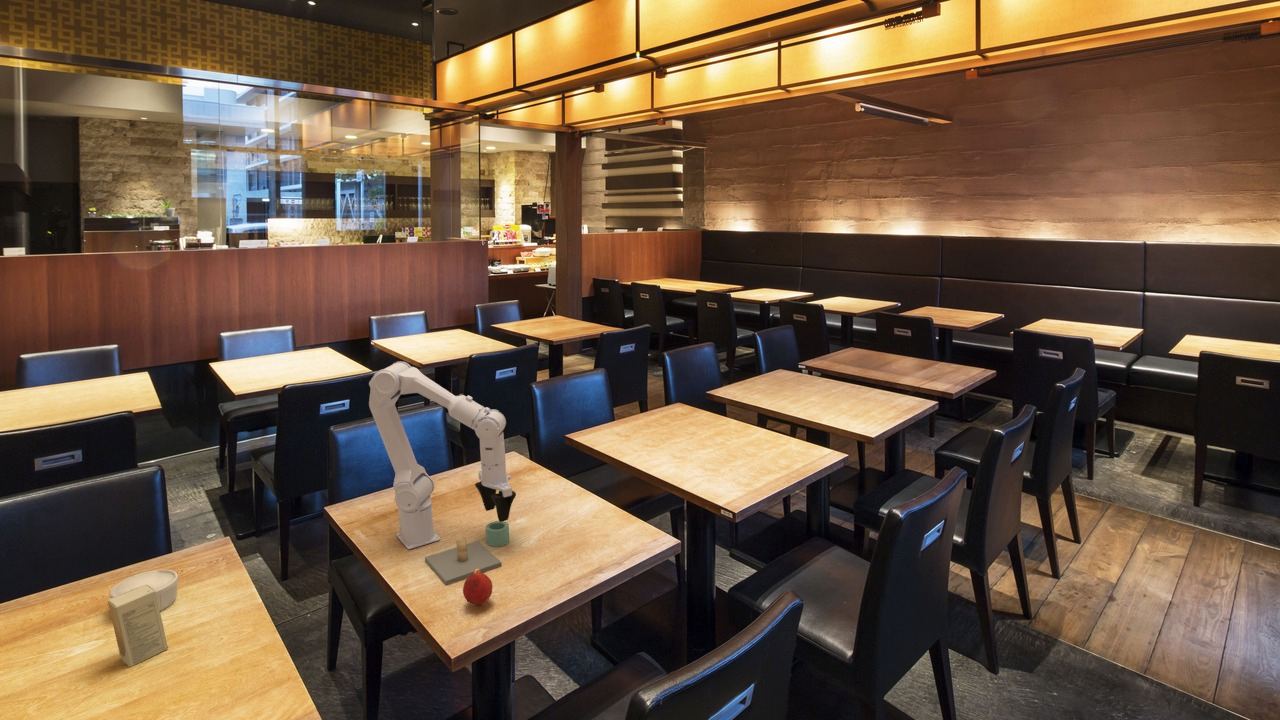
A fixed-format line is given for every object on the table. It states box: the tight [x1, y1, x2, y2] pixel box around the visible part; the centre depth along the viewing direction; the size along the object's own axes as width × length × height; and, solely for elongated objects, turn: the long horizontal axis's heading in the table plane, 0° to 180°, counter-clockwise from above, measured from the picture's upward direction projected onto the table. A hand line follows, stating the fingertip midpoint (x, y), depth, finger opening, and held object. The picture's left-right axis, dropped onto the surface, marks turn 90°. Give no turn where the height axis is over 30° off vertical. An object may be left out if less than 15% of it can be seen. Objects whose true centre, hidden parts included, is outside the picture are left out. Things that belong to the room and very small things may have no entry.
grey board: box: [424, 540, 503, 586], centre depth 151 cm, size 13×13×1 cm
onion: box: [462, 569, 493, 607], centre depth 134 cm, size 6×6×8 cm
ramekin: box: [109, 569, 179, 612], centre depth 135 cm, size 11×11×5 cm
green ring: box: [485, 520, 510, 547], centre depth 161 cm, size 5×5×4 cm
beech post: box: [455, 536, 468, 562], centre depth 150 cm, size 2×2×5 cm
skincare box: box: [107, 584, 169, 668], centre depth 119 cm, size 6×4×12 cm
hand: (496, 514), depth 160 cm, fingers open, 7 cm apart
